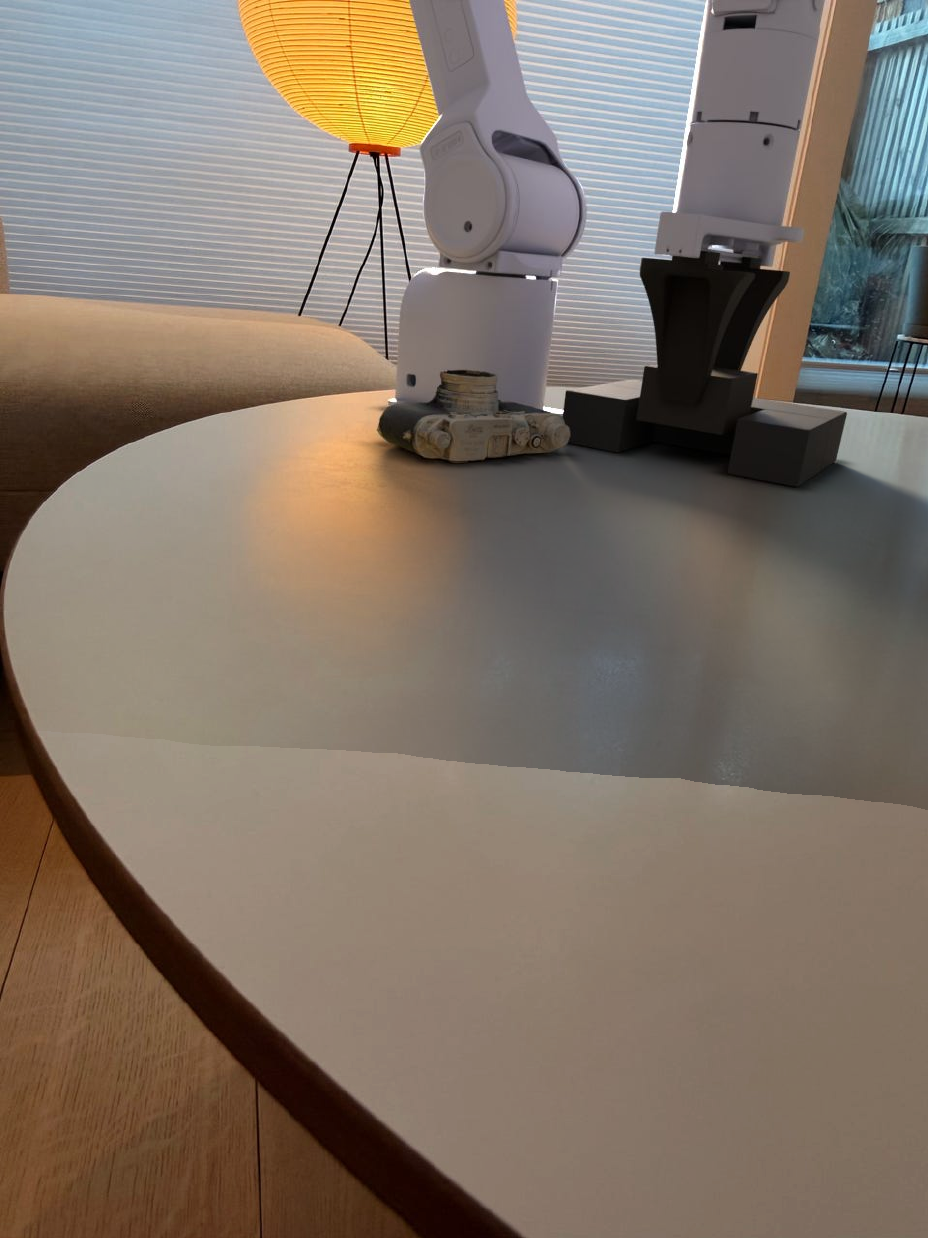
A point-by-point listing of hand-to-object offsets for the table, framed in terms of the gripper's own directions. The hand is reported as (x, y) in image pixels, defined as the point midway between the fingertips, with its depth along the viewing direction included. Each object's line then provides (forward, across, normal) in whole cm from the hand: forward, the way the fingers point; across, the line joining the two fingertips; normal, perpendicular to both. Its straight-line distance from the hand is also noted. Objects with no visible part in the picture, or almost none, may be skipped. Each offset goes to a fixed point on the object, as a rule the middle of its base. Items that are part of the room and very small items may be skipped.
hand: (695, 398), depth 53 cm
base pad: (+3, +2, 0) cm, 4 cm away
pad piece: (+1, 0, 0) cm, 1 cm away
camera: (+4, -9, +9) cm, 13 cm away
